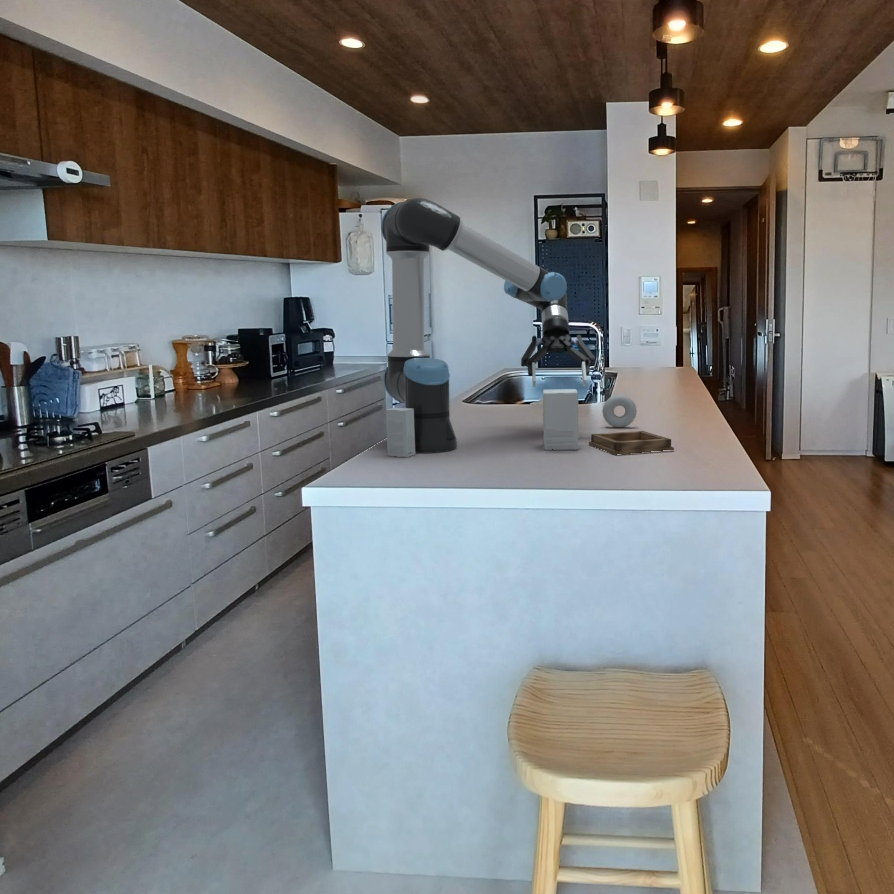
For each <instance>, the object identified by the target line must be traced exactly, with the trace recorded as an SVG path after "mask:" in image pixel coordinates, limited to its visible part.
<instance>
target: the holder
mask: <svg viewBox="0 0 894 894" xmlns="http://www.w3.org/2000/svg"><path fill="white" fill-rule="evenodd" d="M590 439H591V441H588V446H589V445H590V447H592V446H593V447H592V448H595V447H596V448H595V449H597V448H599V449H598V450H600V449H602V450H601V451H603V450H605V451H607V452H606V453H608V452H610V453H612V454H611V455H613V454H615V455H614V456H618V455H617V454H628V455H632V454H631V453H642V452H651V451H663V450H674V451H675V447H674V446H672V439H671V438H669V437H665V436H661V435H658V434H654V433H652V432H649V431H644V430H638V431H637V430H635V431H620V432H619V431H617V432H604V433H591V435H590ZM605 451H604V452H605ZM610 453H609V454H610Z"/></svg>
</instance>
